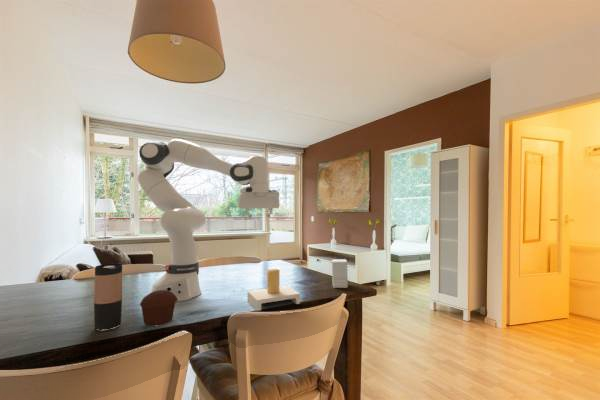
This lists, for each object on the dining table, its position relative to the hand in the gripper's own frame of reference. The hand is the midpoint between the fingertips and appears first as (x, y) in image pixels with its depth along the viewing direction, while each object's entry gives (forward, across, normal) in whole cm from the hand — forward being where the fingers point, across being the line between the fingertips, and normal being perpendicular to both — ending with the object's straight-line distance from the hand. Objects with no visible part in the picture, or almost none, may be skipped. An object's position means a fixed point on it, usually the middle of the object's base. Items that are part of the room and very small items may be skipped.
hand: (259, 218), depth 137 cm
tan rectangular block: (+30, +1, +22) cm, 37 cm away
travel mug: (+34, +58, +21) cm, 70 cm away
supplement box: (+34, -37, +14) cm, 52 cm away
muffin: (+34, +43, +22) cm, 59 cm away
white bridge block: (+34, +1, +22) cm, 40 cm away
